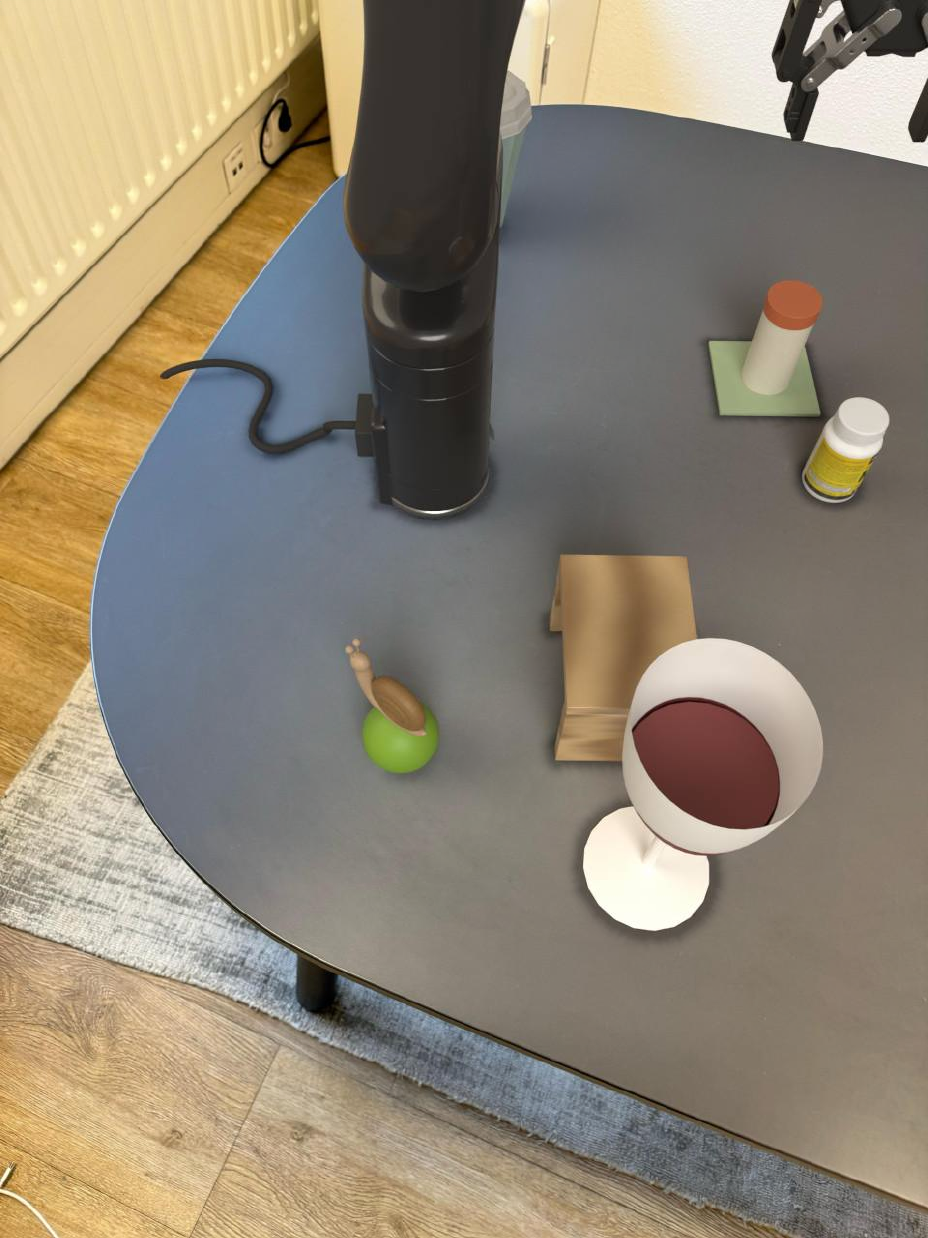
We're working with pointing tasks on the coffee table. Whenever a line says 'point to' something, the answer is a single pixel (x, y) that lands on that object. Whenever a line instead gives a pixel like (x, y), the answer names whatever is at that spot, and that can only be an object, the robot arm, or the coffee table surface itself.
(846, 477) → the supplement bottle
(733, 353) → the mat
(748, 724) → the wineglass
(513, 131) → the disposable coffee cup
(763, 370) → the spice bottle
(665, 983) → the coffee table surface
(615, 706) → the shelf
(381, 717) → the snail figurine
